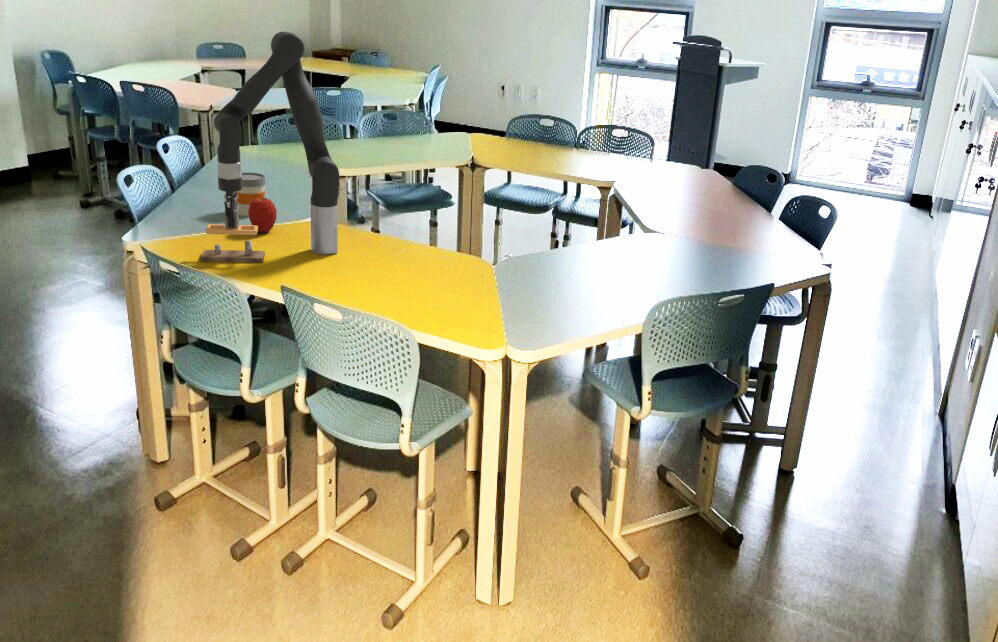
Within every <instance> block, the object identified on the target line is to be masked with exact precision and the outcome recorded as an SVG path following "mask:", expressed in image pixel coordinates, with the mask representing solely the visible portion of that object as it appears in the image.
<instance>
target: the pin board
mask: <svg viewBox="0 0 998 642" xmlns="http://www.w3.org/2000/svg"><path fill="white" fill-rule="evenodd" d="M265 257H266V251H265V250H253V242H252V240H245V241H244V250H237V249H236V250H234V249H233V250H231V249H229V250H228V249H222V246H221V244H214V249H204V250H203V251H202V254H201V256H200V262H201V263H203V262H207V263H250V262H255V264H256V263H258V264H259V263H261V264H263V263H264V260H265Z"/></svg>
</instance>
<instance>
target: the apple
mask: <svg viewBox="0 0 998 642" xmlns="http://www.w3.org/2000/svg"><path fill="white" fill-rule="evenodd" d="M248 213H249V216H248V219H249V222H250V223H251V225H254V226H258V231H257V233H265V234H266V233H269V232H270V231H271V230H272V229H273V227H274V225H275V223H276V220H277V208H276V206H275V204H274V202H273V201H272V200H271V199H269V198H267V197H265V198H257V199H255V200H253V201H252V203H251V204H250V206H249V209H248Z"/></svg>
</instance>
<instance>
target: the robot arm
mask: <svg viewBox="0 0 998 642" xmlns="http://www.w3.org/2000/svg"><path fill="white" fill-rule="evenodd" d="M270 41H271V43H270V49H271V52H272V54H271V55H270V57H269V58H268V60H267V61H266V62H265V63H264V65H262V66H261V68H260V69H259V70H258V71H257V72H255V73H254V74H253V75H251V77H250V78H249V79H247V81H245V83H244V84H243V85H242V86H241V87H240V89H239V90H238V92H237V93H236V94H235V95H234V97H233V98H232V99H231V100H230V101H229V102H228V103H226V105H224V106H223V107H222V108H221V109H220V110H219V111H218V113H217V114H216V115H215V117H214V121H213V126H214V129H216V131H217V132H219V144H218V145H217V149H216V150H217V154H216V155H217V169H216V170H217V186H218V190H220V191H221V192H225V194H224V195H223V201H224V202H223V203H224V204H223V205H224V213H225V212H226V217H227V219H228V227H229V228H234V227H235V210H236V209H238V206H237V198H238V194H237V192H235V191H240V190H241V189H242V173H243V172H242V170H243V169H242V165H241V148H240V147H241V140H242V124H241V120H242V119H244V117H245V116H247V115H251V114H252V113H253V112H254V110H255V109H256V108H257V106H259V104H260V103H261V101H262V100H263V99H264V97H265V96H266V95H267V94H268V92H269V91H270V90H271V89H272V87H273V86H274V85H275V84H276V83H277V82H278V81H279V80H280V78H281V77H282V80H283V85H284V90H285V93H286V96H287V97H286V98H287V100H288V105H289V107H290V112H291V114H292V119H293V122H294V124H295V126H296V130H297V132H298V135H299V138H300V140H301V142H302V144H303V148H304V151H305V156H306V162H307V168H308V172H309V175H310V177H311V181H312V182H311V183H312V185H311V186H312V187H311V188H312V189H311V195H310V251H311V253H314V254H317V255H332V254H338V240H339V239H338V235H339V233H338V230H339V229H338V226H339V225H338V224H339V223H338V201H339V197H340V170H339V168H338V166H337V164H336V163H335V162H334V161H333V159H332V157H331V154H330V152H329V149H328V147H327V144H326V140H325V134H324V123H323V117H322V113H321V108H320V105H319V102H318V99H317V97H316V94H315V92H314V90H313V88H312V86H311V84H310V83H309V81H308V79H307V77H306V75H305V72H304V70H303V65H302V61H301V59H302V57H303V56H304V53H305V48H306V46H305V44H304V41H303V40H302V38H301V37H300V36H299V35H297V34H295V33H293V32H288V31H279V32H277V33H275V34H274V36H273V37H272V38H271V40H270ZM229 212H232V213H229Z"/></svg>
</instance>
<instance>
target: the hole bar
mask: <svg viewBox="0 0 998 642" xmlns="http://www.w3.org/2000/svg"><path fill="white" fill-rule="evenodd" d="M229 213H232V212H229ZM239 219H240V217H239V212H238V208H237V209H236V210H235V227H234V228H229V227H228V219H227V217H226V212H225V211H224V224H214V223H213V224H210V223H209V224H208V225H207V227H206V229H205V235H233V236H234V235H237V236H238V235H239V236H241V235H242V236H257V234H258V226H254V225H252V224H251V225H250V224H249V225H246V224H239Z"/></svg>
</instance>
